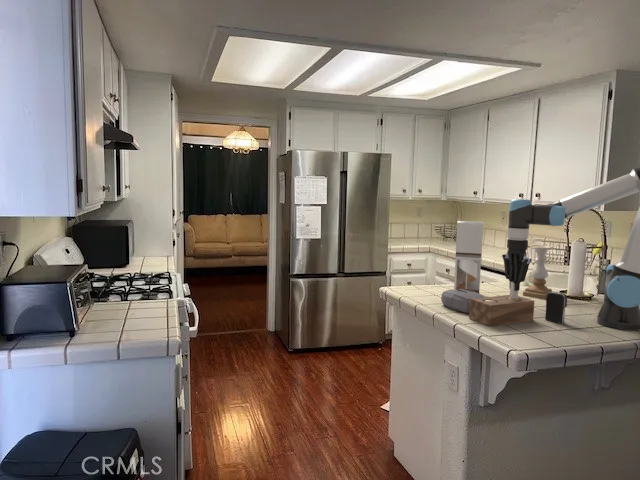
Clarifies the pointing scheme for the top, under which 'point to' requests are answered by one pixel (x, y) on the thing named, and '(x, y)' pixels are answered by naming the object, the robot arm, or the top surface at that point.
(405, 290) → the top surface
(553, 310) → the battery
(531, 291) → the candle holder
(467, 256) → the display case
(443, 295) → the soft grey pack
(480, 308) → the collar block
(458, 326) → the top surface
